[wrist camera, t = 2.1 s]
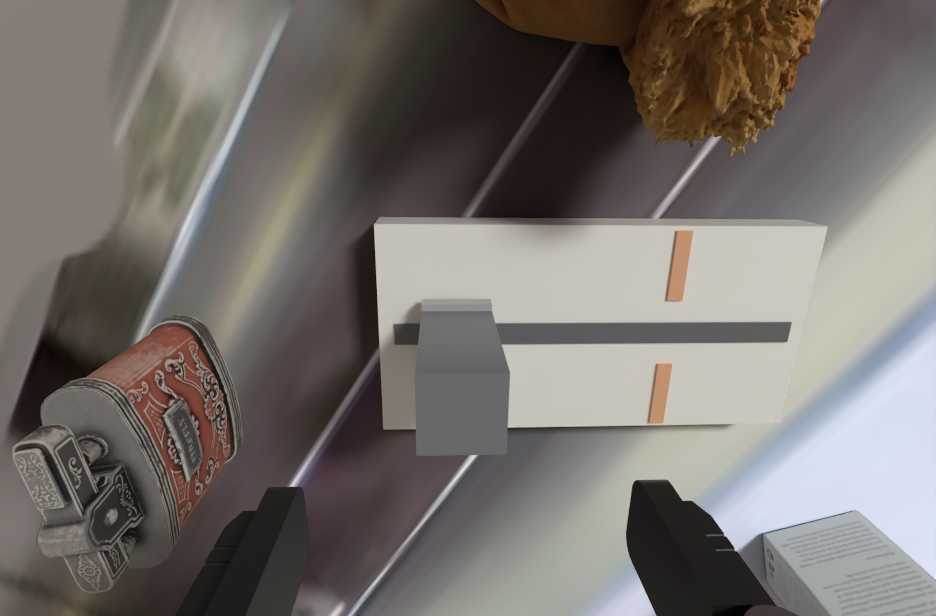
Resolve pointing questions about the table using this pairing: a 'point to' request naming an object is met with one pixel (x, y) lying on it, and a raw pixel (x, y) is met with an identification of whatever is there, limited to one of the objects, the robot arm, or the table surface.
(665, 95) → the stuffed squirrel
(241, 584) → the robot arm
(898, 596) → the skincare box
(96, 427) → the lighter
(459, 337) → the fader
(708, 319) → the panel
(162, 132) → the table surface
